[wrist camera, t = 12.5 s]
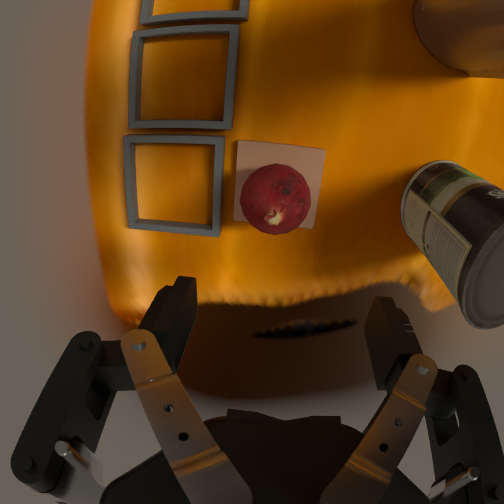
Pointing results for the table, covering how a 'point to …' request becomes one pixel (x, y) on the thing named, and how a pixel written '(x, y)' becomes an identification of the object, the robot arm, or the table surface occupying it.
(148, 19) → the tray
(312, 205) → the tile
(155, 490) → the robot arm
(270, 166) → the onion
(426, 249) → the coffee can
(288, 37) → the table surface
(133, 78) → the tray
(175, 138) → the tray
